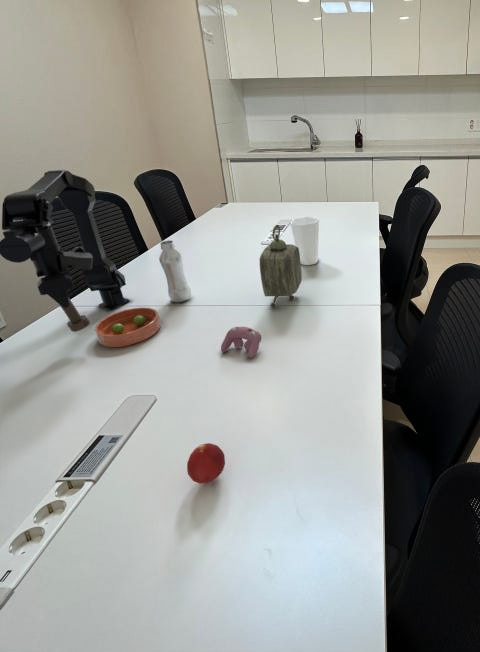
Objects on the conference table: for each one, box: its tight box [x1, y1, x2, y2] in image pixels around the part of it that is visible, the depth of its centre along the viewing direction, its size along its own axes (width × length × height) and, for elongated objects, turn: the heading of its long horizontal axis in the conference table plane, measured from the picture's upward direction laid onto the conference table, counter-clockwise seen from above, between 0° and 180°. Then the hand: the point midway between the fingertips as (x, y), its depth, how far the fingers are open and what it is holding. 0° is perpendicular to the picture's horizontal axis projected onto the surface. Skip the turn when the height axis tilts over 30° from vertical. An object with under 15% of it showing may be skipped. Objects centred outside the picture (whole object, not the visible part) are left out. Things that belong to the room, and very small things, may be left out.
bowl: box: [94, 307, 162, 348], centre depth 108 cm, size 15×15×4 cm
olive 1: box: [111, 323, 124, 334], centre depth 107 cm, size 3×3×3 cm
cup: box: [289, 216, 320, 266], centre depth 151 cm, size 11×10×17 cm
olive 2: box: [133, 315, 146, 326], centre depth 111 cm, size 3×3×3 cm
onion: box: [186, 442, 226, 484], centre depth 64 cm, size 6×6×8 cm
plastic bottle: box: [158, 240, 192, 303], centre depth 123 cm, size 6×7×20 cm
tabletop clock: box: [259, 224, 303, 309], centre depth 120 cm, size 14×9×25 cm, turn 178°
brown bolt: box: [58, 296, 91, 333], centre depth 97 cm, size 4×4×14 cm
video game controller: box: [220, 326, 262, 359], centre depth 100 cm, size 10×5×7 cm, turn 71°
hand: (66, 305), depth 97 cm, fingers closed on brown bolt, 2 cm apart
